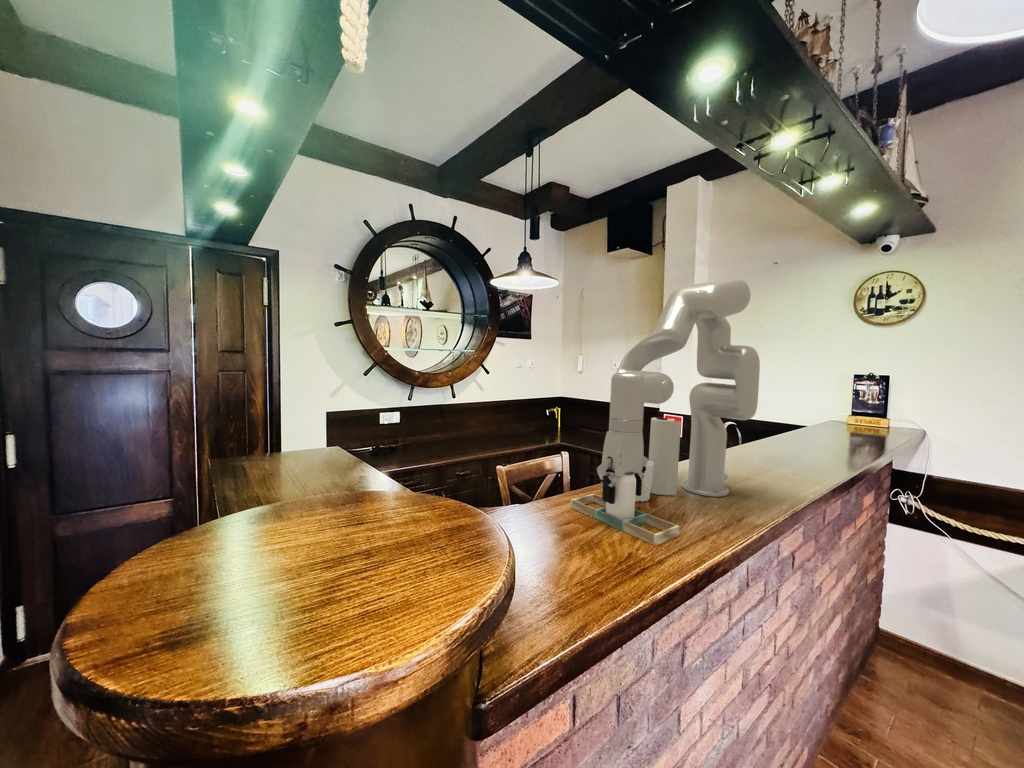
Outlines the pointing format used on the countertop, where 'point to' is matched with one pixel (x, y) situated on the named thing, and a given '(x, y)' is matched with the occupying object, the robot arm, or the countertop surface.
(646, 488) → the white cup
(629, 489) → the can
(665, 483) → the paper towel roll
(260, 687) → the countertop surface
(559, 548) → the countertop surface
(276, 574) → the countertop surface
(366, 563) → the countertop surface
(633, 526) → the slot rack
